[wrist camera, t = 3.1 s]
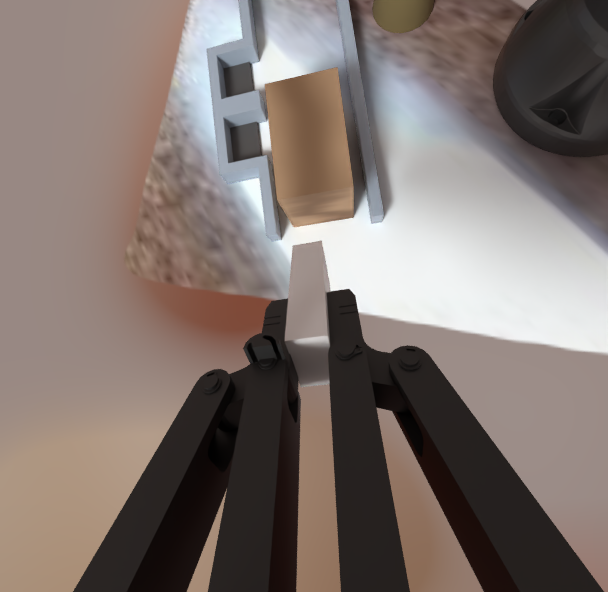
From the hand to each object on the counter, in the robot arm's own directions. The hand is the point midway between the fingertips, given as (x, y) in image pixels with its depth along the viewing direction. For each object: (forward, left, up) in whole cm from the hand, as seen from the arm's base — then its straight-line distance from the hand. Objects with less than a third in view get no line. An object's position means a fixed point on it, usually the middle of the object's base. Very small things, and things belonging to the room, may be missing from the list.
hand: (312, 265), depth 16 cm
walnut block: (0, -12, -14) cm, 18 cm away
